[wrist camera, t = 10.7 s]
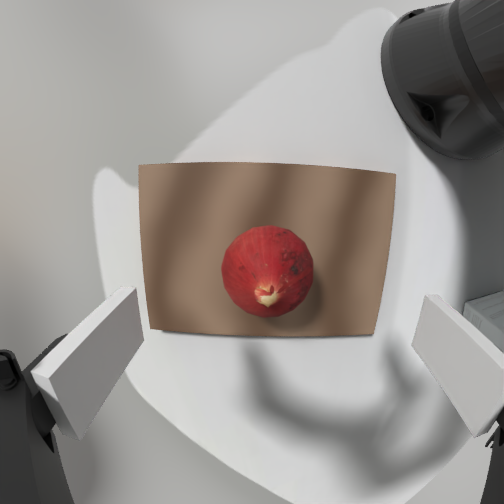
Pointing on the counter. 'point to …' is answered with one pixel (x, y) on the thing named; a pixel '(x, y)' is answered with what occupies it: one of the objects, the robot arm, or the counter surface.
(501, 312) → the supplement box
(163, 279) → the walnut board
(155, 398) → the counter surface
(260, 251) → the onion
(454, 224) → the counter surface
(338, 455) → the counter surface
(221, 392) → the counter surface
